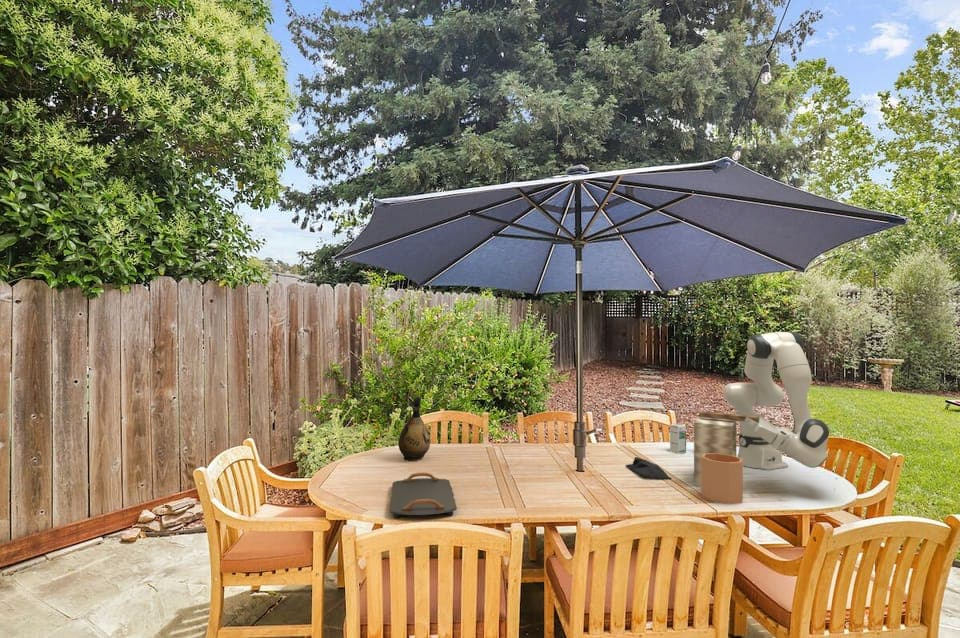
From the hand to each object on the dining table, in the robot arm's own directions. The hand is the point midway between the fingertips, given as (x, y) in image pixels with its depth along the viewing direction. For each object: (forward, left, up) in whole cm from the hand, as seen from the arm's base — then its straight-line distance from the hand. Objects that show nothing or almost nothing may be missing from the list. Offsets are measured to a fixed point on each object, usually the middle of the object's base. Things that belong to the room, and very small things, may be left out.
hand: (745, 417), depth 204 cm
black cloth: (+29, -26, -29) cm, 48 cm away
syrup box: (-7, -55, -29) cm, 62 cm away
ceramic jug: (+129, -70, -29) cm, 149 cm away
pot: (+19, +9, -28) cm, 35 cm away
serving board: (+132, -11, -29) cm, 136 cm away
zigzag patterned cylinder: (+8, -8, -28) cm, 30 cm away
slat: (+4, -4, -1) cm, 6 cm away
